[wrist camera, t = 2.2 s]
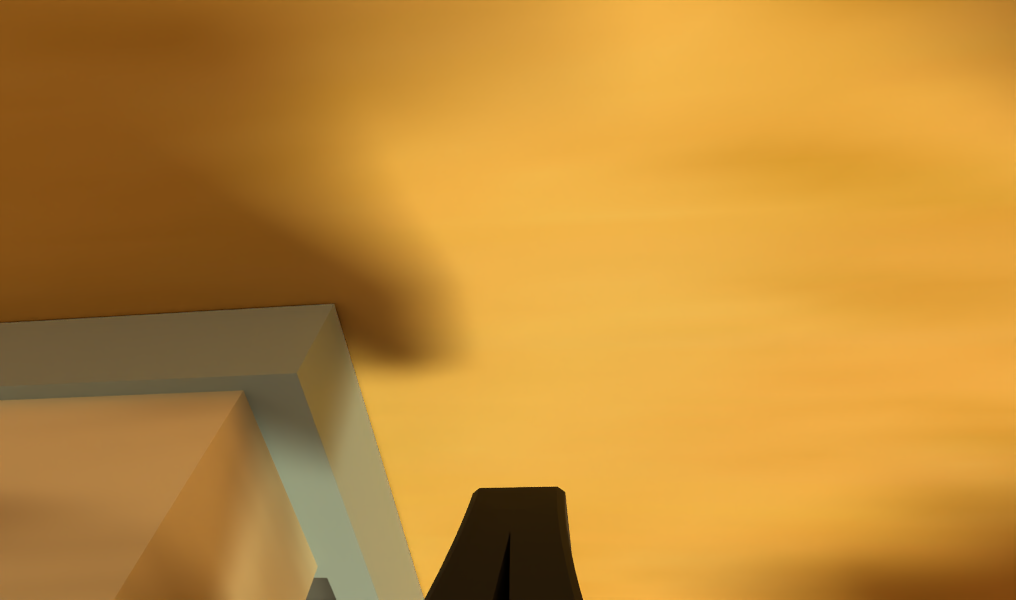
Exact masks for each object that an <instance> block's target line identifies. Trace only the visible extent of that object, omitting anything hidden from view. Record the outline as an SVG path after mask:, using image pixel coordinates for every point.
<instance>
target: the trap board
mask: <svg viewBox="0 0 1016 600" xmlns="http://www.w3.org/2000/svg"><path fill="white" fill-rule="evenodd" d="M240 390H243V391H244V393H245V396H246V398H247V400H248V403H249V405H250V407H251V410H252V412H253V414H254V417H255V419H256V422H257V424H258V426H259V429H260V431H261V433H262V436H263V438H264V441H265V443H266V445H267V448H268V450H269V452H270V455H271V457H272V459H273V462H274V464H275V467H276V469H277V471H278V474H279V476H280V478H281V481H282V483H283V486H284V488H285V490H286V493H287V495H288V497H289V500H290V502H291V504H292V507H293V509H294V512H295V514H296V516H297V519H298V521H299V523H300V526H301V528H302V531H303V533H304V535H305V538H306V540H307V542H308V545H309V547H310V550H311V552H312V554H313V557H314V559H315V561H316V564H317V566H318V567H317V570H316V573H315V575H314V578H313V581H312V584H311V586H310V589H309V592H308V595H307V598H306V600H424V597H423V594H422V591H421V587H420V584H419V581H418V578H417V574H416V571H415V568H414V564H413V561H412V558H411V555H410V551H409V548H408V545H407V541H406V538H405V535H404V532H403V528H402V525H401V522H400V518H399V515H398V512H397V509H396V505H395V502H394V499H393V495H392V492H391V489H390V486H389V482H388V479H387V476H386V472H385V469H384V466H383V463H382V459H381V456H380V453H379V449H378V446H377V443H376V439H375V436H374V433H373V430H372V426H371V423H370V420H369V416H368V413H367V410H366V407H365V403H364V400H363V397H362V393H361V390H360V387H359V384H358V380H357V377H356V374H355V370H354V367H353V364H352V361H351V357H350V354H349V351H348V347H347V344H346V341H345V338H344V334H343V331H342V328H341V324H340V321H339V318H338V315H337V311H336V308H335V305H334V304H320V305H303V306H285V307H268V308H251V309H234V310H216V311H199V312H182V313H165V314H147V315H130V316H113V317H96V318H78V319H61V320H44V321H27V322H9V323H0V400H21V399H45V398H70V397H94V396H119V395H143V394H167V393H192V392H216V391H240Z"/></svg>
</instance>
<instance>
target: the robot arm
mask: <svg viewBox="0 0 1016 600" xmlns="http://www.w3.org/2000/svg"><path fill="white" fill-rule="evenodd" d="M424 600H583V598H582V595H581V591H580V588H579V584H578V580H577V576H576V572H575V568H574V563H573V558H572V552H571V543H570V533H569V524H568V515H567V505H566V496H565V492H564V491H563V490H561V489H560V488H558V487H516V488H479V489H478V490H477V491H475V492H474V493H473V495H472V498H471V501H470V503H469V506H468V508H467V511H466V513H465V516H464V518H463V521H462V523H461V525H460V528H459V530H458V532H457V535H456V537H455V539H454V541H453V543H452V546H451V548H450V550H449V552H448V554H447V556H446V558H445V560H444V562H443V564H442V567H441V569H440V571H439V573H438V574H437V576H436V578H435V580H434V582H433V584H432V586H431V588H430V590H429V592H428V594H427V596H426V597H425V599H424Z"/></svg>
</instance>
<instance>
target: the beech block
mask: <svg viewBox="0 0 1016 600" xmlns="http://www.w3.org/2000/svg"><path fill="white" fill-rule="evenodd" d="M317 567H318V566H317V564H316V561H315V559H314V557H313V554H312V552H311V550H310V547H309V545H308V542H307V540H306V538H305V535H304V533H303V531H302V528H301V526H300V523H299V521H298V519H297V516H296V514H295V512H294V509H293V507H292V504H291V502H290V500H289V497H288V495H287V493H286V490H285V488H284V486H283V483H282V481H281V478H280V476H279V474H278V471H277V469H276V467H275V464H274V462H273V459H272V457H271V455H270V452H269V450H268V448H267V445H266V443H265V441H264V438H263V436H262V433H261V431H260V429H259V426H258V424H257V422H256V419H255V417H254V414H253V412H252V410H251V407H250V405H249V403H248V400H247V398H246V396H245V393H244V391H243V390H240V391H216V392H192V393H167V394H143V395H119V396H94V397H70V398H45V399H21V400H0V600H306V598H307V595H308V592H309V589H310V586H311V584H312V581H313V578H314V575H315V573H316V570H317Z"/></svg>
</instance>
